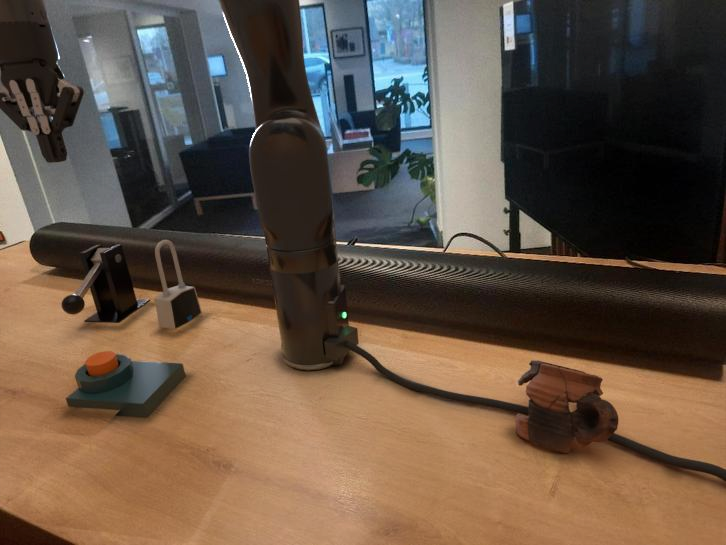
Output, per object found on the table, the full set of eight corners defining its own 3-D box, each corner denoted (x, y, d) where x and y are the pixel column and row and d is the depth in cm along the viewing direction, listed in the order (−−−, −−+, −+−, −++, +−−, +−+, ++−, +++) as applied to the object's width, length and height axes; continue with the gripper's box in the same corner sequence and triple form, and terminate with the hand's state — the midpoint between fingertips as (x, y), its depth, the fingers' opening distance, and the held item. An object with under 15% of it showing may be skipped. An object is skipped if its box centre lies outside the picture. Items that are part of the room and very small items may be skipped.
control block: (186, 376, 68) (179, 351, 67) (147, 418, 60) (139, 391, 59) (112, 372, 71) (104, 348, 69) (65, 412, 63) (55, 385, 61)
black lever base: (120, 328, 84) (100, 257, 80) (85, 326, 86) (63, 257, 81) (151, 305, 93) (135, 240, 88) (119, 304, 94) (101, 240, 89)
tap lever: (82, 318, 79) (70, 306, 76) (65, 318, 79) (53, 306, 77) (120, 258, 87) (110, 246, 85) (104, 258, 88) (94, 246, 85)
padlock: (187, 314, 88) (168, 233, 82) (205, 317, 86) (187, 234, 80) (158, 331, 82) (136, 246, 77) (177, 335, 80) (156, 248, 75)
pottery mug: (490, 425, 55) (505, 352, 56) (550, 433, 59) (563, 365, 60) (579, 468, 44) (597, 377, 45) (645, 474, 48) (661, 391, 49)
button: (124, 362, 66) (121, 351, 65) (106, 377, 63) (102, 366, 62) (101, 361, 67) (97, 350, 66) (82, 376, 64) (78, 364, 63)
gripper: (-56, 25, 60) (-6, 168, 66) (35, 13, 57) (78, 164, 63) (-2, 29, 67) (38, 159, 73) (82, 19, 64) (116, 155, 70)
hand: (57, 161), depth 68 cm, fingers closed
